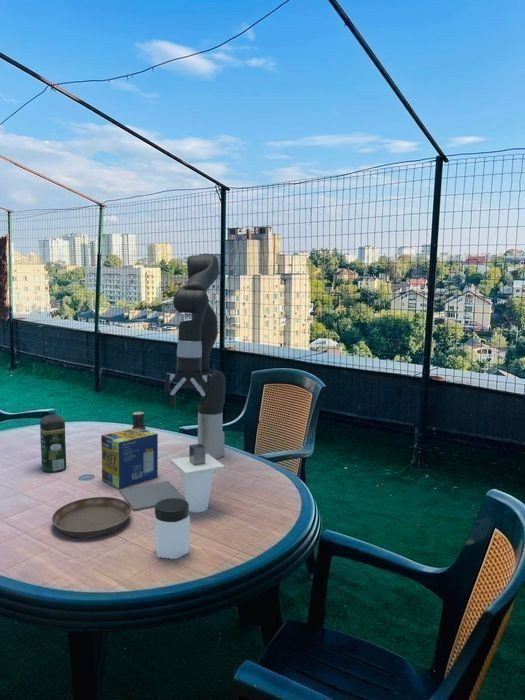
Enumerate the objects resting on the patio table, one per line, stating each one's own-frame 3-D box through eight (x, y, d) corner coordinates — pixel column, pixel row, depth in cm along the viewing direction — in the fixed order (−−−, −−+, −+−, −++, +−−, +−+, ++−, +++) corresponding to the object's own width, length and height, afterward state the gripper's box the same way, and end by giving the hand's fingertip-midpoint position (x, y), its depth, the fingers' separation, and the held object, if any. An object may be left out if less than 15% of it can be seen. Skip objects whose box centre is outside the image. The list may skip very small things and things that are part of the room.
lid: (207, 456, 161) (208, 437, 161) (224, 468, 151) (225, 449, 150) (170, 462, 155) (170, 443, 155) (185, 475, 145) (185, 455, 144)
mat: (168, 482, 173) (168, 480, 173) (186, 500, 160) (186, 498, 160) (119, 491, 166) (119, 489, 165) (134, 511, 152) (134, 509, 152)
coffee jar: (40, 465, 186) (38, 414, 184) (63, 462, 190) (62, 412, 188) (43, 474, 178) (41, 421, 175) (68, 471, 182) (66, 418, 179)
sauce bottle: (151, 465, 189) (151, 411, 187) (146, 471, 183) (145, 415, 180) (134, 464, 190) (133, 410, 187) (128, 470, 184) (127, 414, 181)
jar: (175, 538, 136) (175, 494, 135) (196, 549, 131) (196, 503, 130) (146, 551, 130) (146, 505, 128) (168, 563, 124) (168, 515, 123)
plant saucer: (87, 550, 130) (87, 537, 130) (35, 528, 141) (35, 516, 140) (147, 519, 147) (147, 508, 147) (97, 501, 158) (96, 491, 158)
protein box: (101, 480, 174) (100, 435, 172) (140, 469, 185) (140, 426, 183) (118, 489, 167) (117, 442, 165) (158, 477, 178) (158, 432, 176)
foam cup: (186, 517, 149) (187, 473, 147) (176, 504, 157) (176, 462, 155) (217, 511, 153) (218, 468, 151) (206, 499, 161) (206, 458, 160)
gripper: (212, 354, 166) (210, 405, 167) (167, 353, 165) (165, 404, 166) (212, 357, 159) (210, 410, 160) (164, 355, 157) (163, 409, 159)
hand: (187, 407), depth 163 cm, fingers open, 8 cm apart
